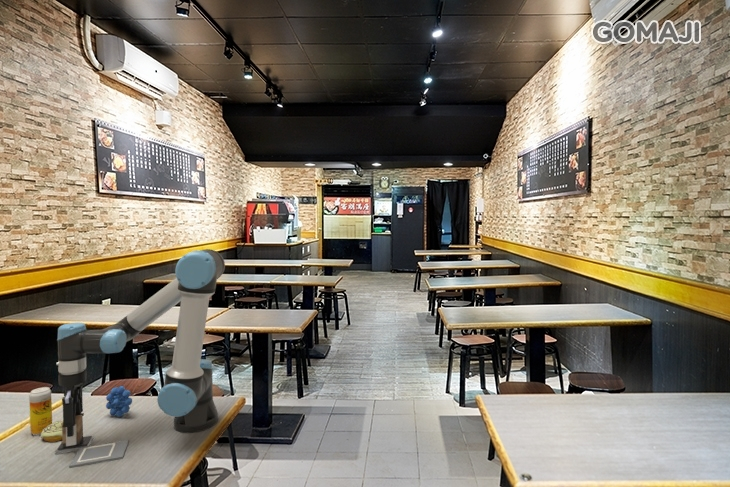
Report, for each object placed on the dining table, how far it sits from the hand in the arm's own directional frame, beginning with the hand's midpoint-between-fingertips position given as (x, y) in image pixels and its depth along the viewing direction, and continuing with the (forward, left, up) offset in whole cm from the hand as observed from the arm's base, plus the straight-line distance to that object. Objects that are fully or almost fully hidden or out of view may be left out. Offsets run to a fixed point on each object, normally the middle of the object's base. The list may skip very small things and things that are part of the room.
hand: (73, 440), depth 137 cm
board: (-9, +9, -2) cm, 13 cm away
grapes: (-10, -20, -2) cm, 23 cm away
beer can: (+14, -16, -2) cm, 21 cm away
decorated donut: (+7, -11, -2) cm, 13 cm away
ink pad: (0, 0, -2) cm, 2 cm away
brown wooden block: (0, 0, 0) cm, 1 cm away
